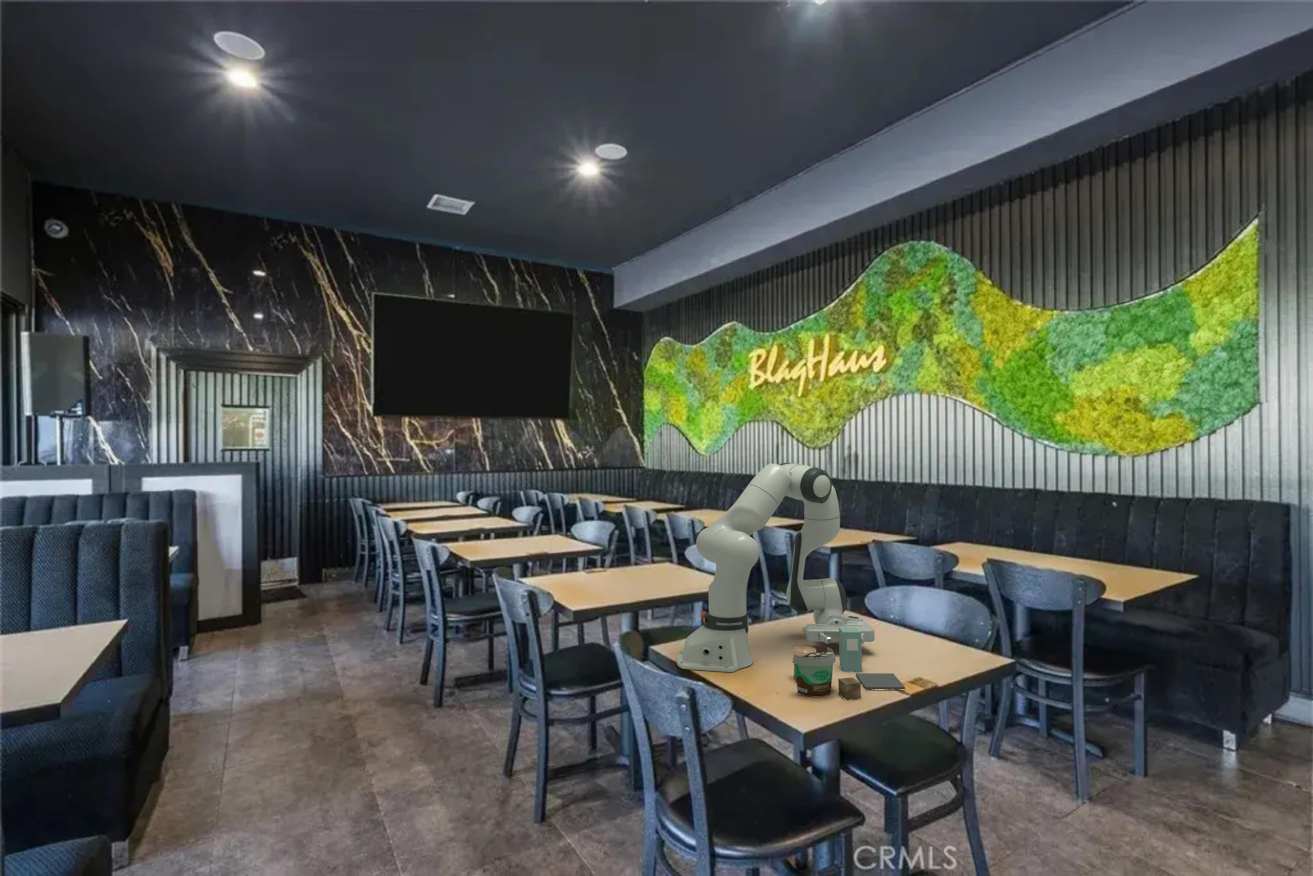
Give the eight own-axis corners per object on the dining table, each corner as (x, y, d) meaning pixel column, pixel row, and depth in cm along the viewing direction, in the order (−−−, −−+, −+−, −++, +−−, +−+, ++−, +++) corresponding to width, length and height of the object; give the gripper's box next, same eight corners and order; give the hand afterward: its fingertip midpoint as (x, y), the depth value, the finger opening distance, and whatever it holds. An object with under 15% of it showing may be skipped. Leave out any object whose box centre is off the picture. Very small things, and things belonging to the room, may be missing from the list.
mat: (865, 690, 167) (865, 687, 167) (856, 676, 177) (855, 673, 177) (905, 690, 166) (905, 687, 166) (893, 676, 176) (893, 673, 176)
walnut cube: (846, 700, 161) (845, 684, 161) (838, 694, 164) (838, 678, 165) (860, 699, 161) (860, 682, 161) (853, 693, 165) (852, 677, 165)
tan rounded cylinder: (795, 683, 173) (795, 653, 173) (792, 675, 179) (791, 646, 179) (818, 683, 172) (818, 653, 172) (814, 675, 178) (813, 645, 178)
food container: (809, 702, 160) (808, 661, 160) (793, 693, 165) (792, 654, 165) (846, 692, 165) (845, 653, 166) (830, 684, 171) (829, 646, 171)
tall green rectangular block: (843, 672, 180) (843, 632, 180) (839, 665, 185) (838, 627, 185) (862, 672, 180) (861, 632, 180) (857, 665, 185) (856, 627, 185)
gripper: (800, 617, 203) (808, 630, 189) (866, 617, 202) (879, 630, 188) (801, 637, 203) (809, 651, 189) (867, 637, 202) (880, 651, 188)
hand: (844, 640), depth 189 cm, fingers open, 8 cm apart
